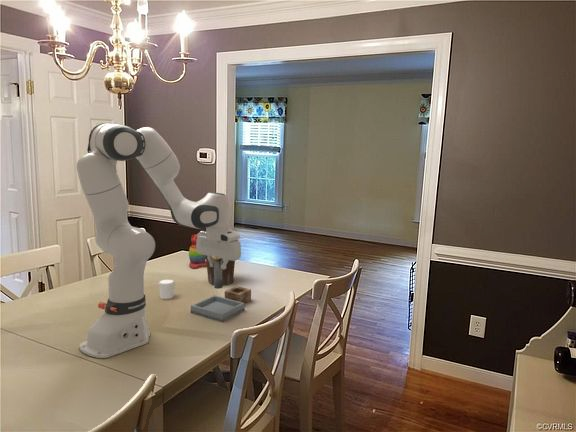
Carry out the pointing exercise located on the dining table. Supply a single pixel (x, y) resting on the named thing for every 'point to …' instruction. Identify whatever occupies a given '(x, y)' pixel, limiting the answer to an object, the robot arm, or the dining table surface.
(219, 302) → the tray
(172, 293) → the white cylinder
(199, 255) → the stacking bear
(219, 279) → the steel pin
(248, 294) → the pin block
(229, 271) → the plant pot
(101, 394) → the dining table surface
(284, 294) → the dining table surface
